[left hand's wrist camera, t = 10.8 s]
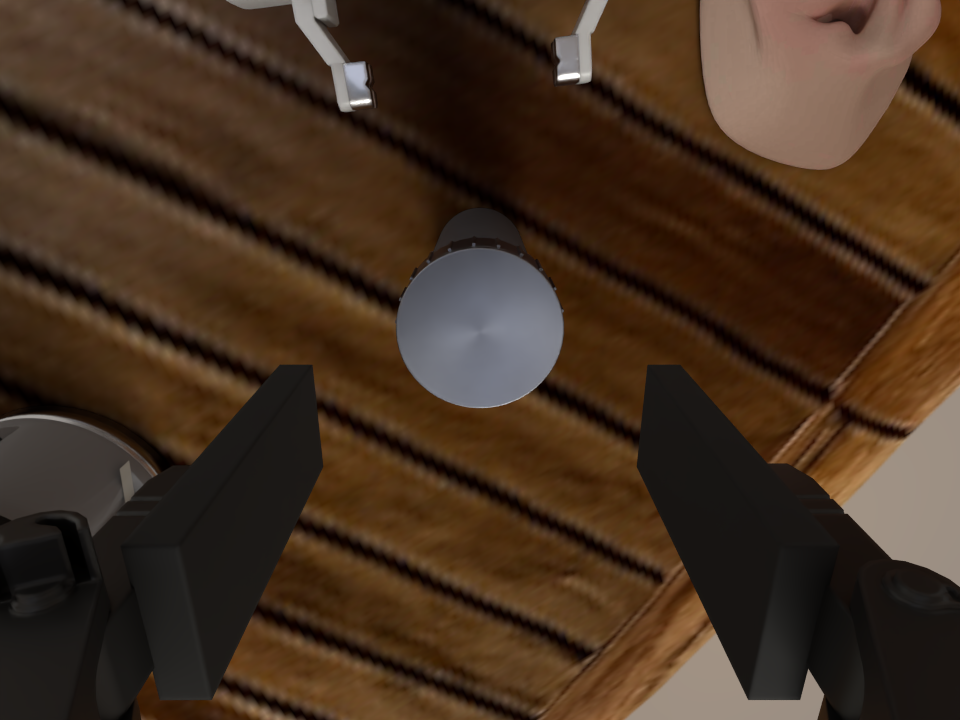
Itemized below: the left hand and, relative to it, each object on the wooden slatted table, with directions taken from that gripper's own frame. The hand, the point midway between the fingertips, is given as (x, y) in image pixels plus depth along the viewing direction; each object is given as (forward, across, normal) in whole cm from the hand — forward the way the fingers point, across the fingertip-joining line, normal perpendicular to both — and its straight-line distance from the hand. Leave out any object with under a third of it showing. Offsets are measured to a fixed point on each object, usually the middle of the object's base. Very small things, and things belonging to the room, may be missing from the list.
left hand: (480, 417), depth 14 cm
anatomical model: (+22, +17, +11) cm, 30 cm away
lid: (+7, 0, 0) cm, 7 cm away
